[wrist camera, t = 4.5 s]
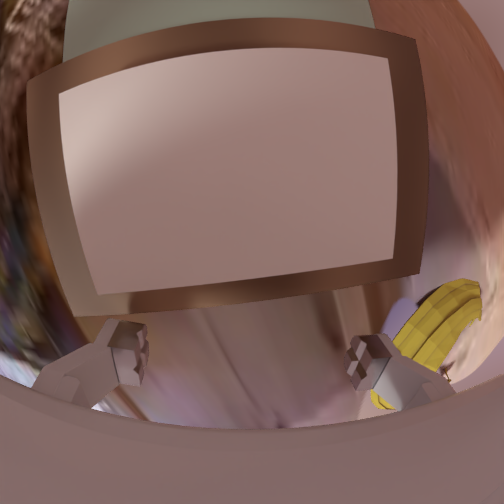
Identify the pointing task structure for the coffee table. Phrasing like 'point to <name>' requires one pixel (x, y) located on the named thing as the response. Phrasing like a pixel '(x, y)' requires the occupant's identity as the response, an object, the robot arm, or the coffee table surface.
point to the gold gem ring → (437, 326)
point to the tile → (232, 167)
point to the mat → (189, 16)
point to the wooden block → (211, 40)
